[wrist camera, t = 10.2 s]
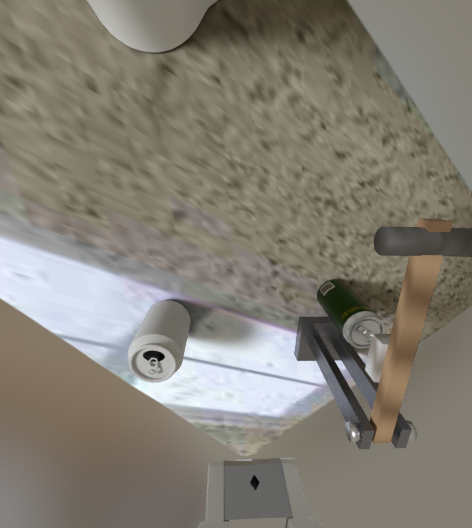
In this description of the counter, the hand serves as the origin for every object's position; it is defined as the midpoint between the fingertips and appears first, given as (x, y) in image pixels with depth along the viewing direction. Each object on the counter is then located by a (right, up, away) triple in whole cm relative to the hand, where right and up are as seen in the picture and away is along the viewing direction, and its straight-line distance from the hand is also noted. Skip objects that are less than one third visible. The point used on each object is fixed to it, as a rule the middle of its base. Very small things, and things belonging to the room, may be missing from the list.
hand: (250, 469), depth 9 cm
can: (-12, -2, +37) cm, 39 cm away
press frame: (+16, -6, +40) cm, 43 cm away
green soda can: (+16, +2, +37) cm, 40 cm away
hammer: (+17, 0, +21) cm, 27 cm away
